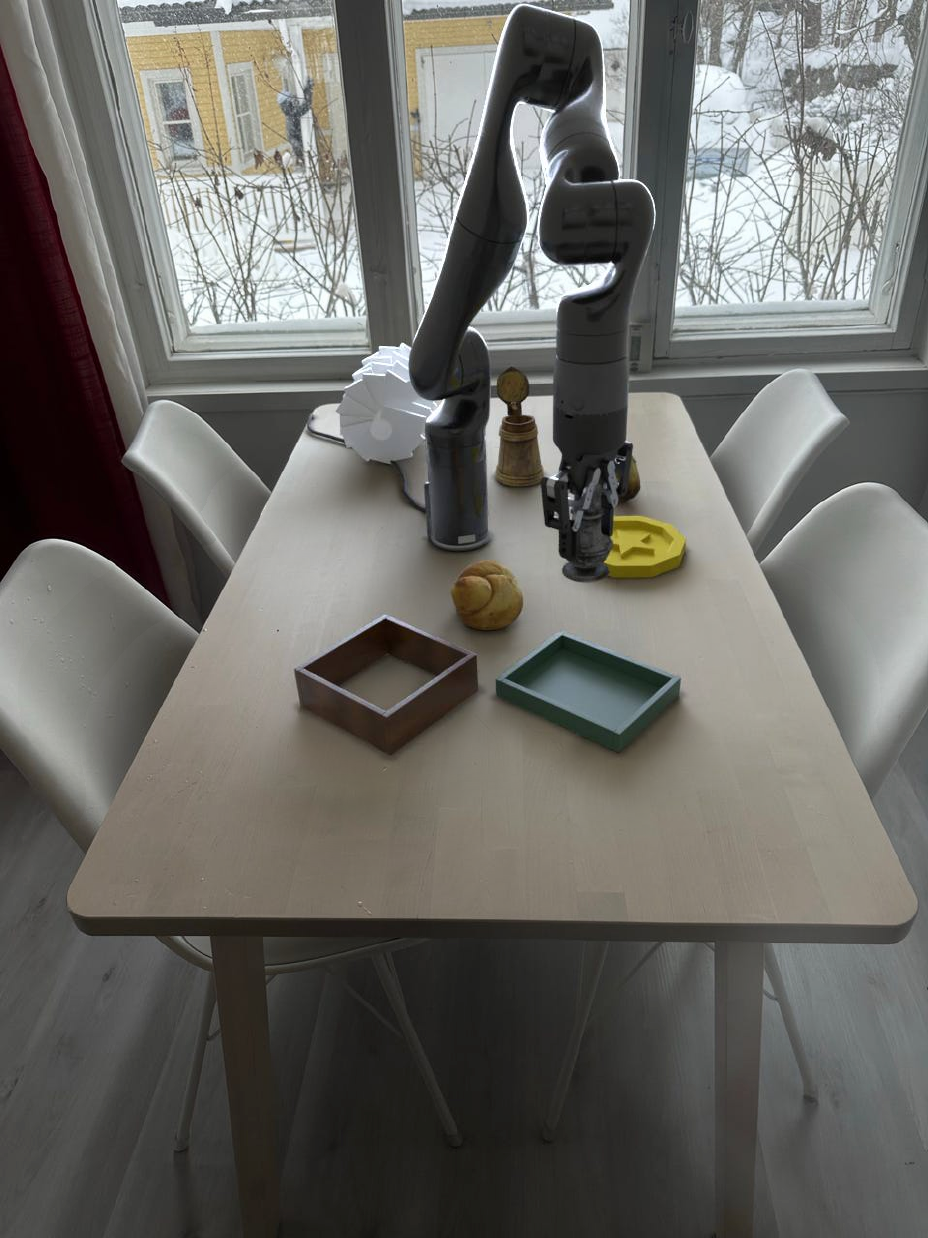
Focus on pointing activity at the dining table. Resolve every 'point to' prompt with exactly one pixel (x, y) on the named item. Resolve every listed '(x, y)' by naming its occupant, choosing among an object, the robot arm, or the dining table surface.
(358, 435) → the spiral staircase
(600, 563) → the salt shaker
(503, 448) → the wooden mug
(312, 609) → the dining table surface
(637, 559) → the decorative disc
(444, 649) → the open box
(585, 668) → the tray
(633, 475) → the potato
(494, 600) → the bread roll
